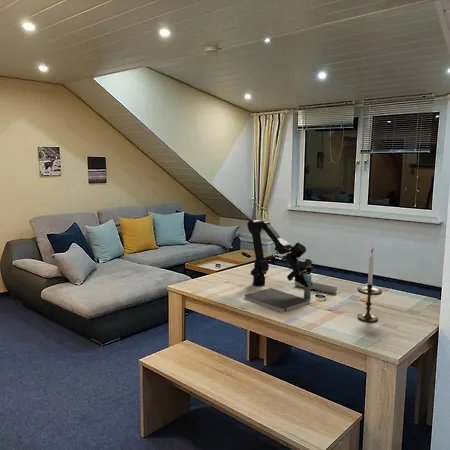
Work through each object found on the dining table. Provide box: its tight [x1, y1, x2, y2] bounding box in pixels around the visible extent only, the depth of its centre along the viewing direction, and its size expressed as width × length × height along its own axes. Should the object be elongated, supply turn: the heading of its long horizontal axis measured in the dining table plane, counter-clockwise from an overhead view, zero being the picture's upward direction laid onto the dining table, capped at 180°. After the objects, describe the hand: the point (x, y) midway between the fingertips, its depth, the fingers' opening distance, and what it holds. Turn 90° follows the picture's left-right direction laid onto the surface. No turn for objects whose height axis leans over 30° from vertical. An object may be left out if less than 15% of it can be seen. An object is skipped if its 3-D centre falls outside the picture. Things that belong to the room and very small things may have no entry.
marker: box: [303, 273, 312, 300], centre depth 228 cm, size 4×4×13 cm
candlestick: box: [356, 247, 383, 323], centre depth 197 cm, size 11×11×35 cm
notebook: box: [244, 287, 311, 313], centre depth 224 cm, size 22×2×28 cm
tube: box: [294, 280, 338, 294], centre depth 244 cm, size 5×5×25 cm
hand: (309, 286), depth 227 cm, fingers closed on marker, 4 cm apart
